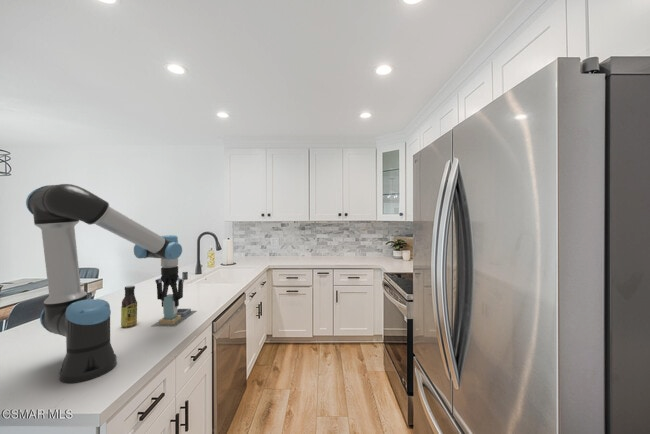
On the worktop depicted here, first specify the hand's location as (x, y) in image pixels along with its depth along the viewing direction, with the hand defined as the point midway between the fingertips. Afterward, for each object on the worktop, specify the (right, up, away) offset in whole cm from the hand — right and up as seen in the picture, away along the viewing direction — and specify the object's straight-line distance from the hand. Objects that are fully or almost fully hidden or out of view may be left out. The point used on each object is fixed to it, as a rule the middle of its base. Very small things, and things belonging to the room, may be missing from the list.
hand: (170, 313), depth 139 cm
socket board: (0, -5, +5) cm, 7 cm away
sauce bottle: (-17, -6, -5) cm, 19 cm away
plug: (0, -3, 0) cm, 3 cm away
